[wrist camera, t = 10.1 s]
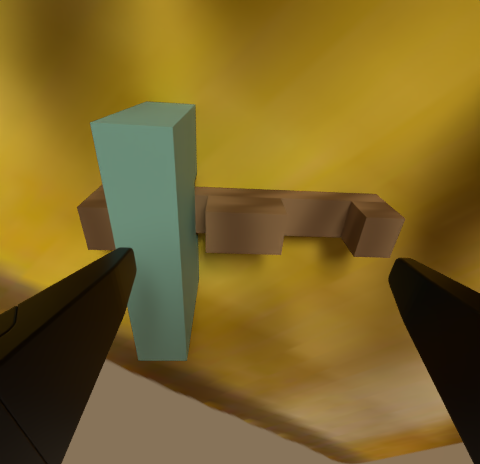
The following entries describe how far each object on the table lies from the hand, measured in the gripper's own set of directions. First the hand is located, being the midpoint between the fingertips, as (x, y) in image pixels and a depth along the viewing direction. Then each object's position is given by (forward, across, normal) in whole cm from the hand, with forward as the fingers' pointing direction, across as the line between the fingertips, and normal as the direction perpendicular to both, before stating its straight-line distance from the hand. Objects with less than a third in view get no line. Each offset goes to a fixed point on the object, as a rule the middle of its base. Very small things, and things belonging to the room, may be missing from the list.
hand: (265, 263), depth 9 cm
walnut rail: (+11, 0, +3) cm, 12 cm away
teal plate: (+11, +5, +3) cm, 13 cm away
